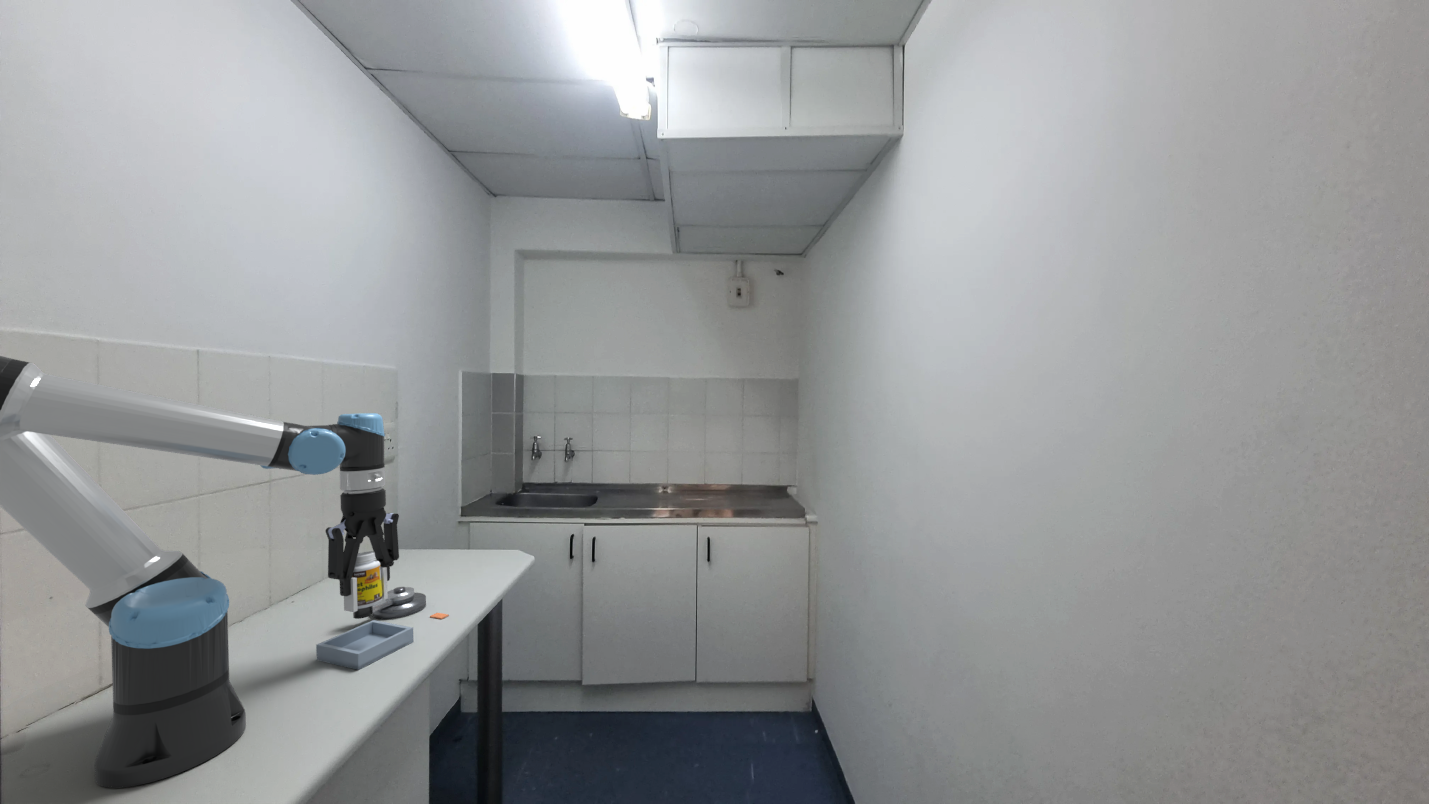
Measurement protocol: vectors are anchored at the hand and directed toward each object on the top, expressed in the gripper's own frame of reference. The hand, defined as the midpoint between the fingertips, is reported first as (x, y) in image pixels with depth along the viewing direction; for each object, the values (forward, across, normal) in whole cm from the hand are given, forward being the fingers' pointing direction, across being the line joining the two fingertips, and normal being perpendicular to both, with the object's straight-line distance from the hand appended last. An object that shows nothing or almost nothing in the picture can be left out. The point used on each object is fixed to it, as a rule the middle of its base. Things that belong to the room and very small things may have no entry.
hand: (366, 604), depth 104 cm
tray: (+9, 0, 0) cm, 9 cm away
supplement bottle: (0, 0, 0) cm, 0 cm away
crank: (+7, +13, +12) cm, 19 cm away
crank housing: (+9, +17, +12) cm, 23 cm away
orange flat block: (+10, +17, 0) cm, 19 cm away
